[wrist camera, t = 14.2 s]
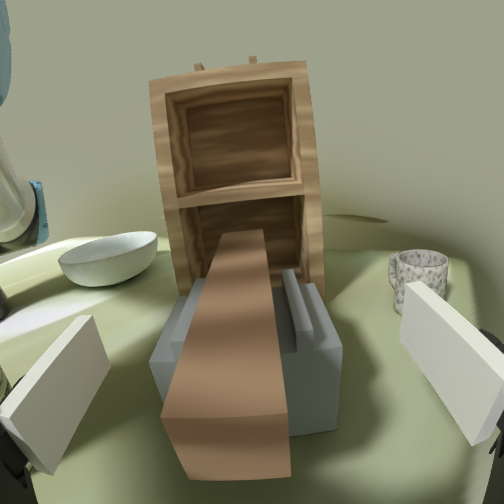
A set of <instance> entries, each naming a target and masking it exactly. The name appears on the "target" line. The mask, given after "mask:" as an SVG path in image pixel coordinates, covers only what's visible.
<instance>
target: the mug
mask: <svg viewBox="0 0 504 504" xmlns="http://www.w3.org/2000/svg"><path fill="white" fill-rule="evenodd" d="M448 265H449V258H448V257H447V256H445V255H444V254H442V253H439V252H436V251H432V250H423V249H414V250H406V251H403V252H401V253H393V254H391V255H390V259H389V269H388V275H389V282H390V284H391V285H392V286H393V288H394V289H395V295H394V310H395V312H396V313H397V314H398V315H400V316H402V314H403V305H404V294H405V283H411V282H417V281H422V282H423V283H424V284H425V285H426V286H428V287H429V288H430V289H431V290H433V291H434V292H435V293H436V294H437V295H438V296H440V297H441V298H442V299H443V300H444V298H445V291H446V283H447V274H448Z"/></svg>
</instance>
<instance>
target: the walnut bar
mask: <svg viewBox="0 0 504 504" xmlns="http://www.w3.org/2000/svg"><path fill="white" fill-rule="evenodd" d="M160 419H161V421H162V423H163V426H164V428H165V430H166V432H167V435H168V437H169V439H170V441H171V443H172V446H173V448H174V450H175V452H176V454H177V456H178V458H179V460H180V462H181V464H182V466H183V468H184V470H185V472H186V474H187V476H188V478H189V480H217V481H223V480H256V479H271V478H282V477H291V463H290V444H289V426H288V411H287V403H286V396H285V388H284V380H283V372H282V365H281V357H280V350H279V342H278V335H277V327H276V320H275V313H274V305H273V298H272V291H271V284H270V277H269V270H268V263H267V256H266V249H265V242H264V235H263V229H257V230H248V231H238V232H229V233H223V234H222V236H221V239H220V242H219V245H218V247H217V250H216V253H215V256H214V258H213V261H212V264H211V267H210V269H209V272H208V275H207V278H206V281H205V283H204V286H203V289H202V292H201V295H200V298H199V301H198V303H197V306H196V309H195V312H194V315H193V318H192V321H191V324H190V327H189V330H188V333H187V335H186V338H185V341H184V344H183V347H182V350H181V353H180V356H179V359H178V362H177V366H176V369H175V372H174V375H173V378H172V381H171V384H170V387H169V390H168V393H167V396H166V400H165V403H164V406H163V409H162V412H161V416H160Z"/></svg>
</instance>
